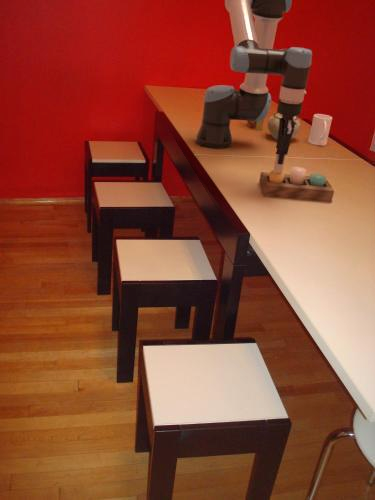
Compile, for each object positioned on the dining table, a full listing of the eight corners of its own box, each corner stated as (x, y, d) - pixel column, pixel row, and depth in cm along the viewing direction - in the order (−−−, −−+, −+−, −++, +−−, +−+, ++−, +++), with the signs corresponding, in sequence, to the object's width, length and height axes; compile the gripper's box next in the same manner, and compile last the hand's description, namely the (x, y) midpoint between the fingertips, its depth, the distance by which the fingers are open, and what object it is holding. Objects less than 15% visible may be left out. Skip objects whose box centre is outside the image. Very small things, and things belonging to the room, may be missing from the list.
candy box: (245, 124, 242) (250, 92, 235) (253, 124, 244) (258, 92, 237) (254, 130, 235) (260, 97, 228) (262, 130, 237) (268, 97, 230)
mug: (329, 148, 220) (335, 121, 214) (310, 146, 220) (316, 119, 214) (324, 140, 230) (330, 115, 224) (306, 138, 230) (312, 113, 224)
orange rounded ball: (268, 188, 168) (271, 174, 165) (266, 183, 172) (269, 169, 170) (282, 189, 168) (285, 175, 166) (280, 184, 172) (283, 170, 170)
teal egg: (309, 192, 168) (312, 178, 166) (306, 186, 173) (309, 173, 170) (323, 193, 169) (327, 179, 166) (320, 187, 173) (323, 174, 170)
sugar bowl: (305, 145, 220) (312, 112, 213) (273, 145, 217) (280, 110, 210) (289, 132, 237) (295, 100, 230) (259, 131, 234) (264, 99, 226)
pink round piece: (290, 185, 167) (293, 171, 165) (287, 179, 171) (290, 166, 169) (304, 186, 167) (307, 172, 165) (301, 181, 172) (304, 167, 169)
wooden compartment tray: (263, 196, 165) (265, 185, 163) (259, 182, 176) (260, 172, 174) (331, 201, 166) (334, 190, 164) (323, 188, 177) (325, 177, 175)
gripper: (306, 107, 150) (292, 180, 162) (298, 97, 162) (285, 166, 173) (282, 104, 150) (269, 178, 162) (275, 95, 161) (264, 164, 173)
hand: (277, 172), depth 167 cm, fingers closed
